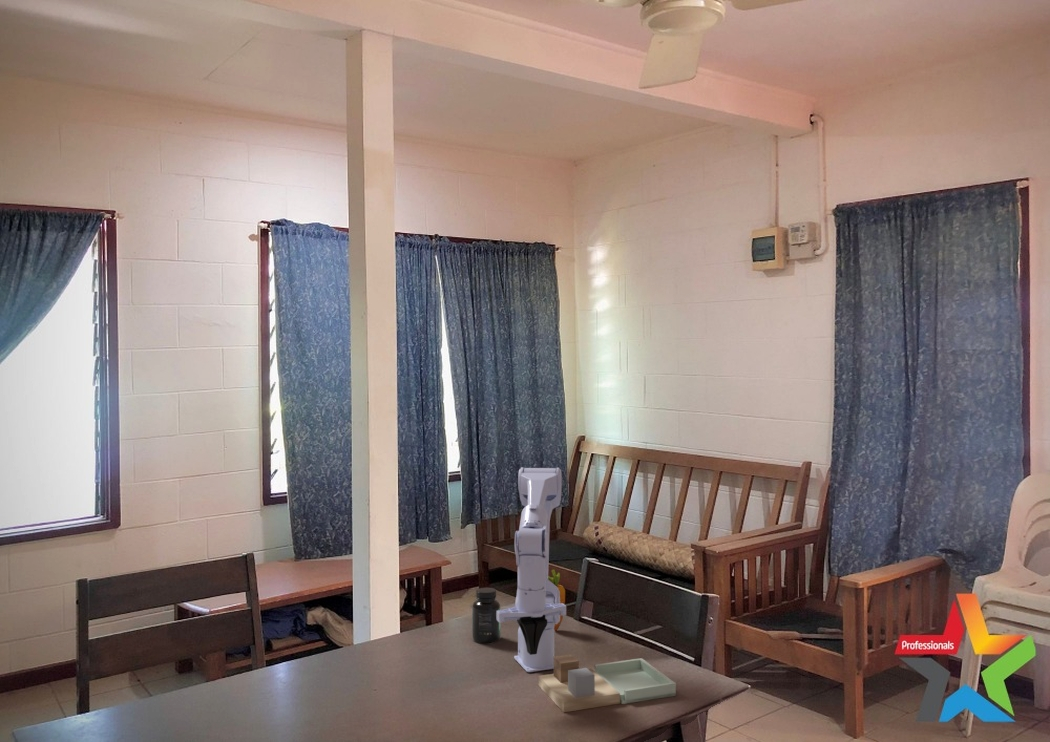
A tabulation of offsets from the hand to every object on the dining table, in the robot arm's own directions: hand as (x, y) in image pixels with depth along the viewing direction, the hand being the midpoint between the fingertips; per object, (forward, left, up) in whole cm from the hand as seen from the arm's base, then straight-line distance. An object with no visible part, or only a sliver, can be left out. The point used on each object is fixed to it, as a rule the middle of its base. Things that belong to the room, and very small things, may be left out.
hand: (531, 652), depth 173 cm
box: (+4, +21, -8) cm, 23 cm away
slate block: (+8, +8, -6) cm, 13 cm away
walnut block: (0, +8, -6) cm, 10 cm away
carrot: (-34, +19, -8) cm, 40 cm away
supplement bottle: (-34, +1, -8) cm, 35 cm away
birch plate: (+4, +9, -8) cm, 12 cm away
